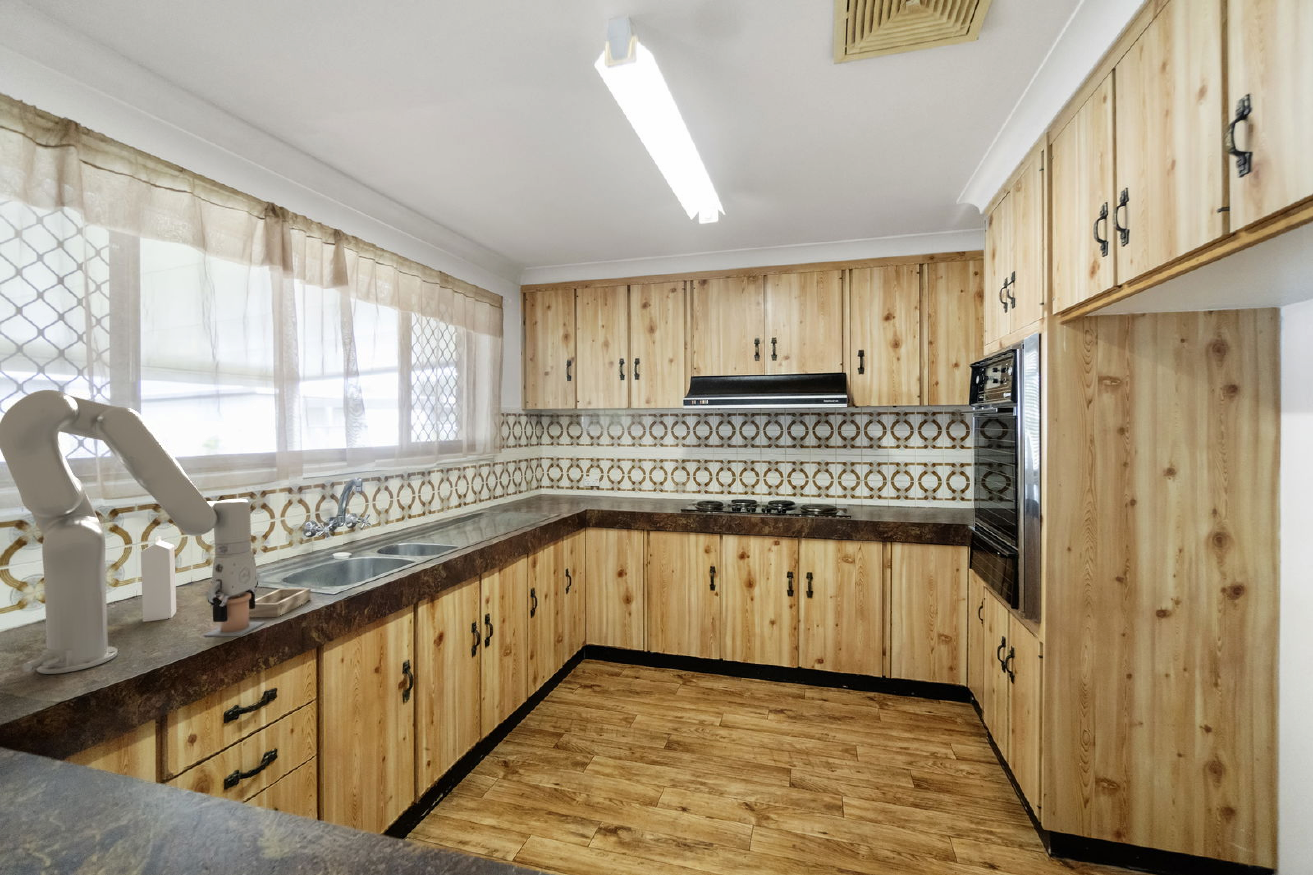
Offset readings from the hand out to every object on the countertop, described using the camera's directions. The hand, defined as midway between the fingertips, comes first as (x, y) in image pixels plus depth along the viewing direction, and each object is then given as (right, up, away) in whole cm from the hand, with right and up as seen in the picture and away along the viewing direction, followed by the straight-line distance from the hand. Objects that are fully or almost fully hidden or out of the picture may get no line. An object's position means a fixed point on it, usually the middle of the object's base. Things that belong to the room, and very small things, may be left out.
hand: (234, 614), depth 148 cm
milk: (-28, -4, +10) cm, 30 cm away
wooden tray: (0, -3, +17) cm, 17 cm away
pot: (0, -3, 0) cm, 3 cm away
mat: (0, -4, 0) cm, 4 cm away
